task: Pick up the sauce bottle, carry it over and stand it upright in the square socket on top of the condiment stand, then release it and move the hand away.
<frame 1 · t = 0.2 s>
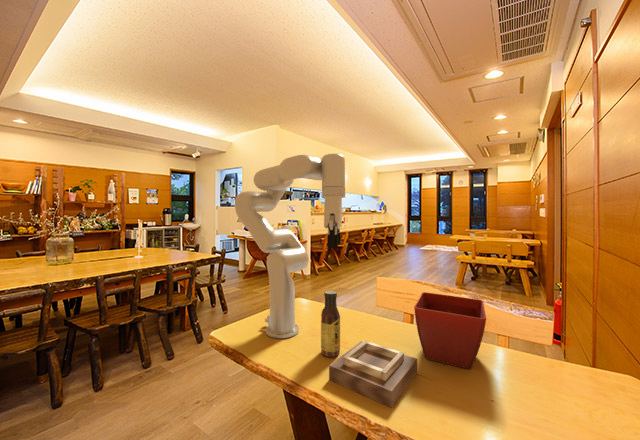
hand: (334, 245, 90), 35 cm above the table, tool pointing down, fingers open, 9 cm apart
sauce bottle: (330, 353, 90), on the table
plant pot: (449, 355, 89), on the table
condiment stand: (374, 376, 78), on the table
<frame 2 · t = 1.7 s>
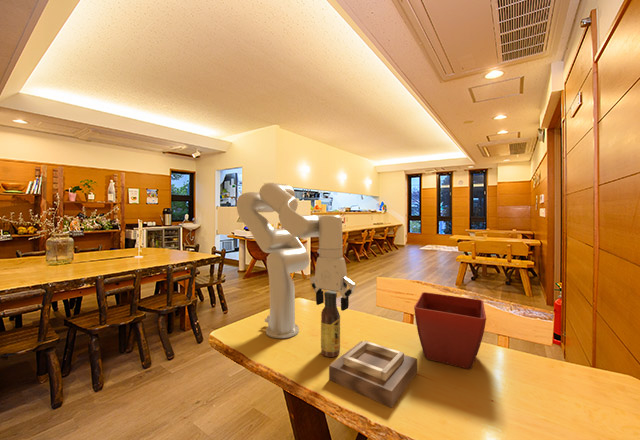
hand: (331, 306, 90), 15 cm above the table, tool pointing down, fingers open, 9 cm apart
nothing on the table moved.
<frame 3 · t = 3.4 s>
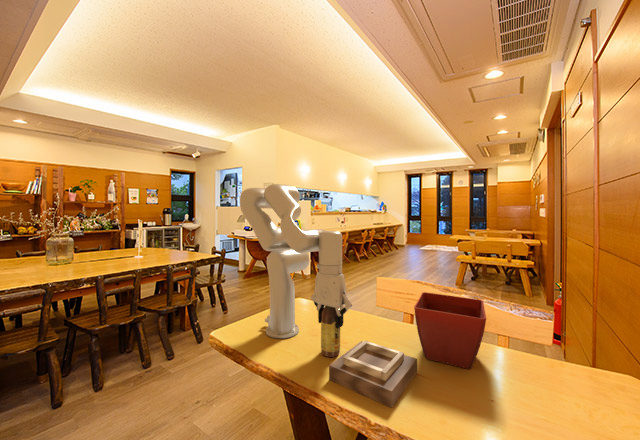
hand: (330, 323, 90), 10 cm above the table, tool pointing down, fingers closed on sauce bottle, 6 cm apart
sauce bottle: (330, 353, 90), on the table, touching gripper
everything else where it was.
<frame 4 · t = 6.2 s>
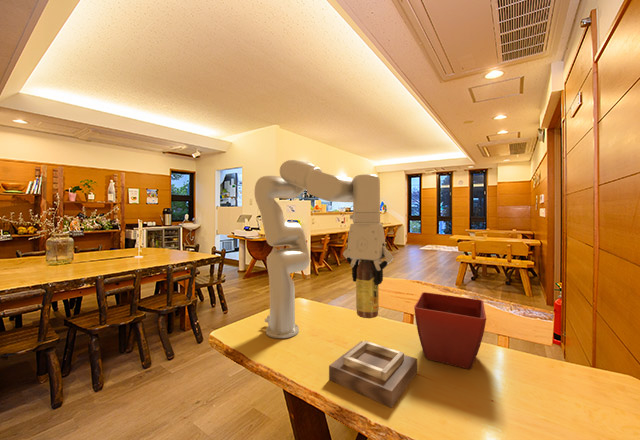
hand: (367, 281, 79), 26 cm above the table, tool pointing down, fingers closed on sauce bottle, 6 cm apart
sauce bottle: (367, 315, 79), point 16 cm above the table, touching gripper
everything else where it was.
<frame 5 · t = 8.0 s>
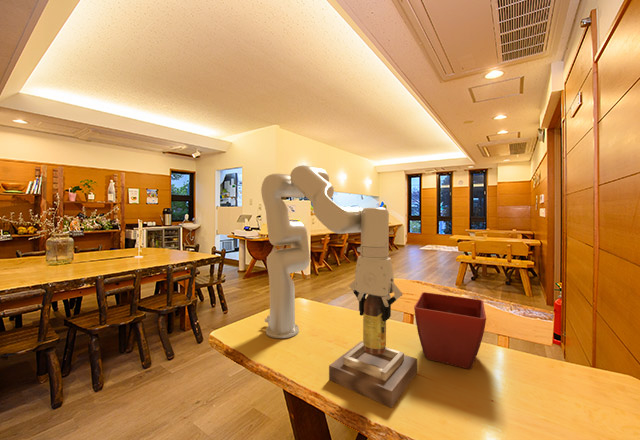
hand: (374, 316, 77), 17 cm above the table, tool pointing down, fingers closed on sauce bottle, 6 cm apart
sauce bottle: (374, 350, 77), point 7 cm above the table, touching gripper
everything else where it was.
when the fingers open (15 cm above the table, at t = 9.3 s): sauce bottle drops 1 cm, resting on condiment stand.
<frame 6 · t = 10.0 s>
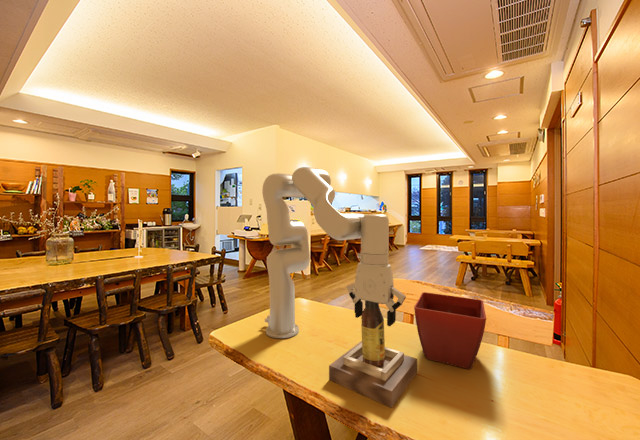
hand: (374, 320, 77), 16 cm above the table, tool pointing down, fingers open, 9 cm apart
sauce bottle: (373, 362, 78), point 4 cm above the table, touching condiment stand
everything else where it was.
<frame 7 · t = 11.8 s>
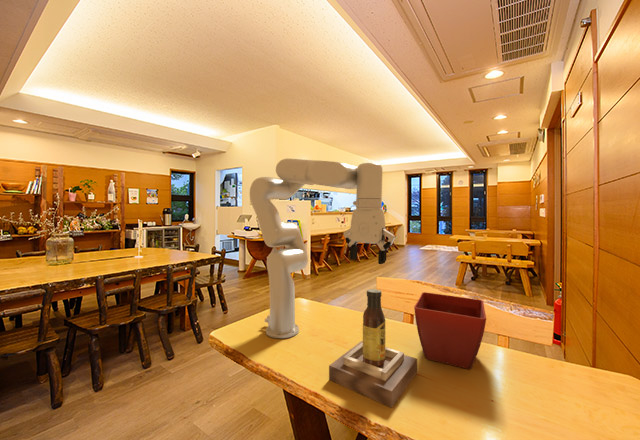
hand: (367, 261, 85), 31 cm above the table, tool pointing down, fingers open, 9 cm apart
nothing on the table moved.
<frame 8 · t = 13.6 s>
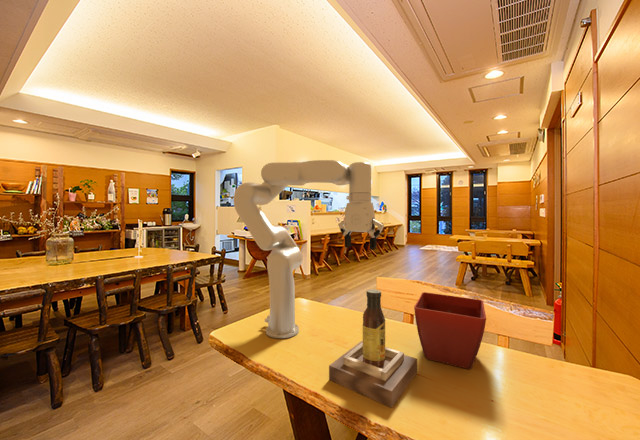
hand: (359, 248, 96), 33 cm above the table, tool pointing down, fingers open, 9 cm apart
nothing on the table moved.
at the end: sauce bottle 0.1 cm off-centre on the condiment stand, point 3.8 cm above the condiment stand's base; sauce bottle tilted 0°; the gripper is holding nothing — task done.
